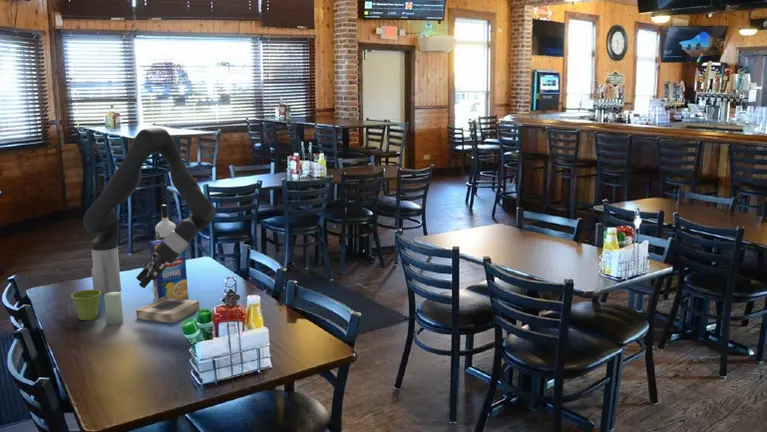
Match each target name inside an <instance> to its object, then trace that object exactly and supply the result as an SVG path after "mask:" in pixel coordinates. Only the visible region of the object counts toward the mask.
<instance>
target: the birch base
mask: <svg viewBox="0 0 767 432" xmlns="http://www.w3.org/2000/svg"><path fill="white" fill-rule="evenodd" d="M198 310H200V301H199V300H194V299H187V298H184V299H178V298H169V297H162V298H160V299H158V300H156V299H155V301H152V302H150V303H148V304H146V305H144V306H142V307H139V308H137V309H136V310H135V313H136V319H138V318H139V320H146V319H148V321H155V322H162V323H163V322H164V323H169V324H170V323H171V324H174V323H176V322H179V321H181V320H182V319H184V318H186V317H188V316H189V315H191V314H193V313H194V312H197V311H198Z"/></svg>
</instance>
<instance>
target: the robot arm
mask: <svg viewBox="0 0 767 432" xmlns="http://www.w3.org/2000/svg"><path fill="white" fill-rule="evenodd" d="M159 154H160V155H161V157H163V159H165V161H166V163H167V165H168V169H169V175H170V180H171V182H172V185H173V186H174V188H175V189H176V191H177V192H178V194H179V195H180V197H182V199H183V200H184V202H185V203H186V206H187V207H188V209H189V210H190V211H191V213H192V214H190V216H189V217H188V218H186V219H185V218H184V219H182V220H181V221H180V222H179V223H178V224H177V225H176V227H175V229H174V230H173V231H172V232H171V233H169V234H168V235H167V236H166V238H165V239H164V240H163V241H162V242H161V243H160V244H159V245H158V246H157V248H156V249H155V252H156V253H157V254H158V255H157V254H154V255H153V256H152V257H151V256H150V258H149V259H148V260H147V261H146V262H145V263H144V265H143V268H142V270H141V271H140V272H139V274H138V275H137V276H136V277H135V278H136V279H137V281H138V282H139V284H138V285H139V287H141V289H146V287H148V285H149V284H150V282H152V281H153V280H156V278H157V277H158V276H159V275H160V274H161V272H162V271H163V270H164V269H165V268H166V266H165V265H164V264H165V263H166V262H169V263H171V264H172V263H173V262H174V261H175V260H176V259H177V257H178V256H179V255H180V254H181V253H182V252H183V251H184V249H185V250H186V248H187V246H188V245H189V243H191V242H192V240H193V239H194V238H195V237H196V236H197V235H198V233H199V232H201V231H202V230H204V229H205V228H206V227H207V226H209V224H210V223H211V222H212V221H213V220H214V219H215V217H216V214H217V209H216V207H215V205H214V204H213V203H212V202H211V201H210V200H209V199H208V198H207V197H206V195H205V194H204V193H203V191H202V189H201V186H200V185H199V183H198V182H197V181H196V180H195V178H194V177H193V175H192V173H191V172H190V171H189V169H188V167H186V165H185V163H184V161H183V158H182V156H181V153H180V152H179V150H178V148H177V146H176V145H175V142H174V140H173V138H172V136H171V135H170V133H169V132H168V131H167V130H166V129H165V128H162V127H153V128H152V127H151V128H149V127H148V128H144V129H141V130H139V131H138V133H137V134H136V136H135V138H134V140H133V141H132V144H131V146H130V148H129V150H128V152H127V154H126V155H125V156H124V159H123V160H122V161H121V163H120V164H119V166H118V168H117V169H116V170H115V171H114V174H113V175H112V176H111V178H110V179H109V181H108V183H107V184H106V186H105V187H104V188H103V190H102V191H101V192H100V195H99V196H98V197H97V198H96V200H95V201H94V202H93V203H92V205H91V206H90V207H89V208H88V209H87V210H86V211H85V213H84V216H83V220H82V221H83V226H84V228H85V230H86V231H87V232H90V233H98V235H97V236H96V237H95V238H93V240H92V241H91V242H90V243H91V244H90V246H91V249H90V250H91V257H92V266H93V267H91V278H92V279H91V280H92V288H93V289H92V290H99V291H101V294H102V295H104V294H106V293H109V292H120V291H121V290H122V286H121V283H122V282H121V273H120V262H119V261H120V260H119V251H118V250H119V249H118V241H119V219H118V214H117V212H116V210H115V209H116V208H117V207H118V206H120V205H121V204H122V203H124V202H125V201H126V200H128V199H129V198H130V197H131V196H133V195H132V194H133V193H134V192H135V191H136V189H137V188H138V186H139V185H140V183H141V181H142V167H143V165H144V163H145V162H146V161H147V160H148V158H149V157H150V156H151V155H159ZM153 274H154V275H153ZM101 294H100V295H101Z"/></svg>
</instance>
